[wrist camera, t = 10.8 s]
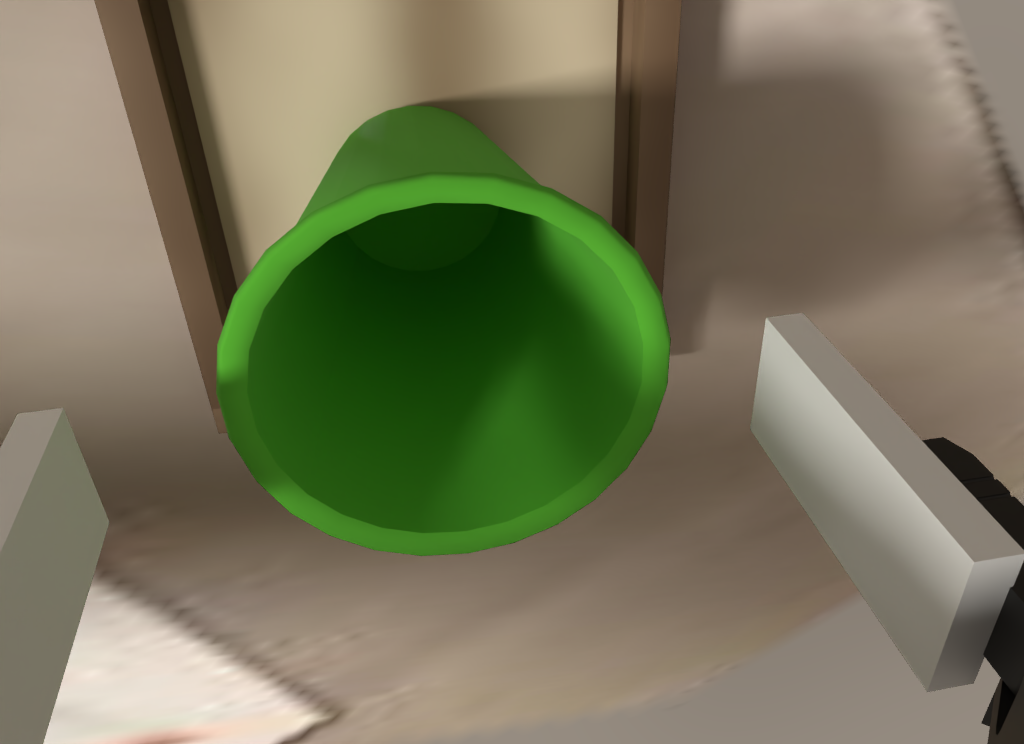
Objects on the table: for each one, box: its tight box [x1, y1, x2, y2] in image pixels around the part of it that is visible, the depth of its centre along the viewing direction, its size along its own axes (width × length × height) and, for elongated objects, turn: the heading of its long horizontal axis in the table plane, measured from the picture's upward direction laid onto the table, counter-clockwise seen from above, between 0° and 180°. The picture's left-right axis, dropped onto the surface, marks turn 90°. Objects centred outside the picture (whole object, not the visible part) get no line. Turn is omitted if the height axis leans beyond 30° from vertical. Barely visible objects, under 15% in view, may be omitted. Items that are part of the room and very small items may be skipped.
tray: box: [94, 0, 682, 434], centre depth 26 cm, size 15×15×2 cm
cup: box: [216, 106, 671, 556], centre depth 22 cm, size 9×9×11 cm
